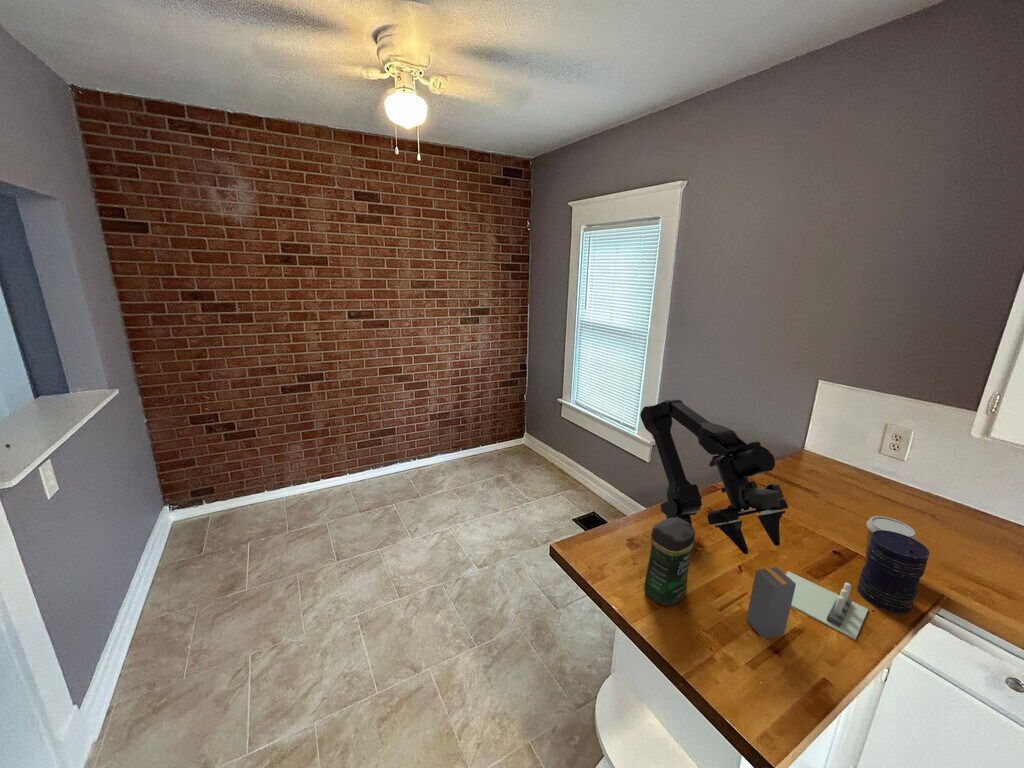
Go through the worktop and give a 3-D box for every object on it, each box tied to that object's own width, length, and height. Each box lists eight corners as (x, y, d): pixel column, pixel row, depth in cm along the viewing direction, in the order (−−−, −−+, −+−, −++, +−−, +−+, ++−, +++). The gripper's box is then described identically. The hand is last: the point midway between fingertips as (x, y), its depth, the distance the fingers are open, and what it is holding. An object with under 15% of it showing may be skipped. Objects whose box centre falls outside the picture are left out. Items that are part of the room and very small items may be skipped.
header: (770, 595, 98) (775, 574, 97) (787, 572, 106) (792, 552, 104) (855, 640, 87) (862, 616, 85) (867, 610, 94) (874, 588, 93)
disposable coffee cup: (864, 573, 106) (876, 532, 103) (851, 550, 115) (861, 511, 111) (912, 583, 103) (926, 541, 100) (894, 559, 111) (906, 519, 108)
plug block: (746, 619, 92) (756, 568, 88) (765, 616, 93) (776, 565, 89) (763, 639, 87) (774, 585, 83) (784, 635, 88) (796, 582, 84)
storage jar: (846, 581, 103) (860, 529, 99) (887, 583, 103) (903, 530, 99) (879, 614, 94) (896, 557, 89) (924, 615, 93) (943, 558, 89)
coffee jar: (667, 613, 93) (677, 541, 88) (638, 591, 99) (645, 523, 94) (692, 594, 99) (702, 525, 94) (663, 574, 105) (671, 509, 100)
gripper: (728, 479, 90) (758, 557, 84) (793, 467, 95) (824, 539, 90) (695, 489, 99) (719, 558, 94) (755, 477, 105) (782, 542, 100)
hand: (762, 549), depth 94 cm, fingers open, 9 cm apart
